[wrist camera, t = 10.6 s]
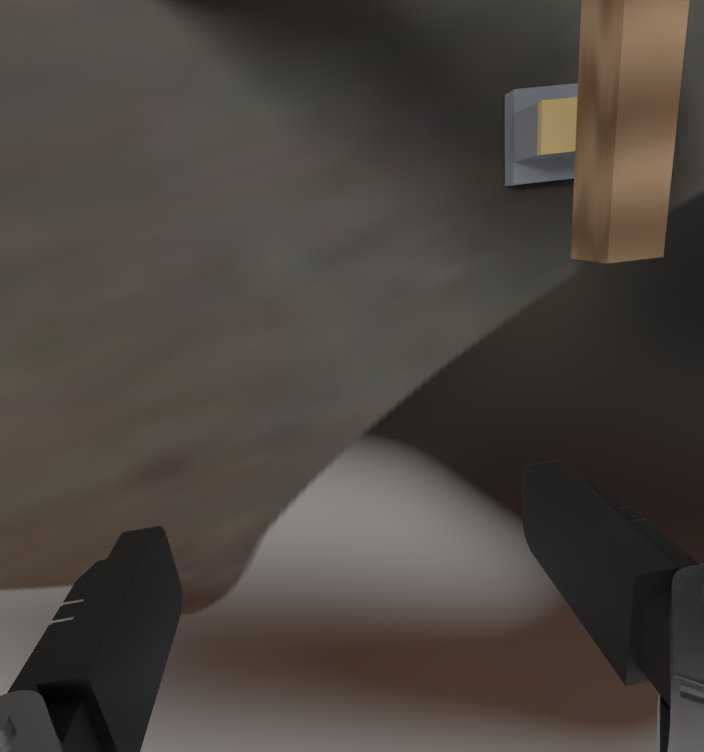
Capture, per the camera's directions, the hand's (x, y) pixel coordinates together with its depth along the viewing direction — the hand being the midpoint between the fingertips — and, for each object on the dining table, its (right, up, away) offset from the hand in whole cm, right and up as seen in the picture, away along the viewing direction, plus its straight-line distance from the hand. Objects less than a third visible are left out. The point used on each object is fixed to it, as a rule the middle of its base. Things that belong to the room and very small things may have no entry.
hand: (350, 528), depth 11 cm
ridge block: (+15, +21, +24) cm, 35 cm away
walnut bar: (+16, +19, +19) cm, 31 cm away
